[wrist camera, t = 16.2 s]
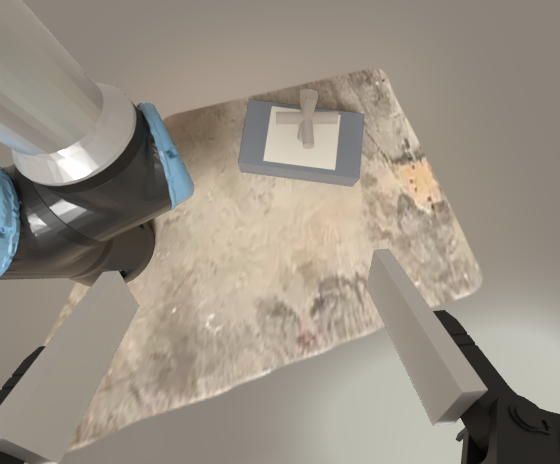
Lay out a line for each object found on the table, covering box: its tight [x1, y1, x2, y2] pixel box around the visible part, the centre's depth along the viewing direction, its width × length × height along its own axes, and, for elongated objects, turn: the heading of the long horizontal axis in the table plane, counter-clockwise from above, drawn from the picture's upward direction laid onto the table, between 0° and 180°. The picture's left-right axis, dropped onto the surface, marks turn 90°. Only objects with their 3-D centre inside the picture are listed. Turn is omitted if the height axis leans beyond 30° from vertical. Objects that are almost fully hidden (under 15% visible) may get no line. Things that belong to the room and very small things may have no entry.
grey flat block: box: [238, 99, 364, 186], centre depth 46 cm, size 22×13×4 cm, turn 82°
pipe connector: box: [276, 88, 339, 149], centre depth 39 cm, size 10×10×10 cm
